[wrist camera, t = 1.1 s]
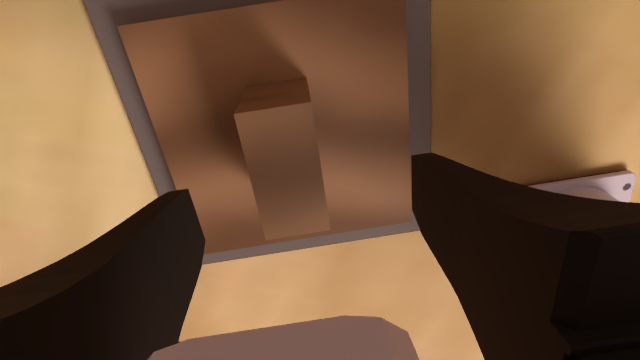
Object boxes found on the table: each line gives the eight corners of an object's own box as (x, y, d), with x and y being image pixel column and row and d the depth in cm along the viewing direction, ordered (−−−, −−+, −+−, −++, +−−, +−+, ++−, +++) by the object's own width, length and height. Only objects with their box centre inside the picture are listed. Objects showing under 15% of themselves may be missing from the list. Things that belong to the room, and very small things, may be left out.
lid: (407, 212, 23) (438, 271, 19) (203, 245, 23) (181, 312, 19) (399, -19, 17) (441, -22, 13) (125, 24, 17) (62, 37, 13)
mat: (428, 225, 25) (430, 228, 24) (188, 262, 24) (187, 267, 24) (427, -60, 17) (430, -61, 17) (84, -7, 17) (80, -7, 17)
